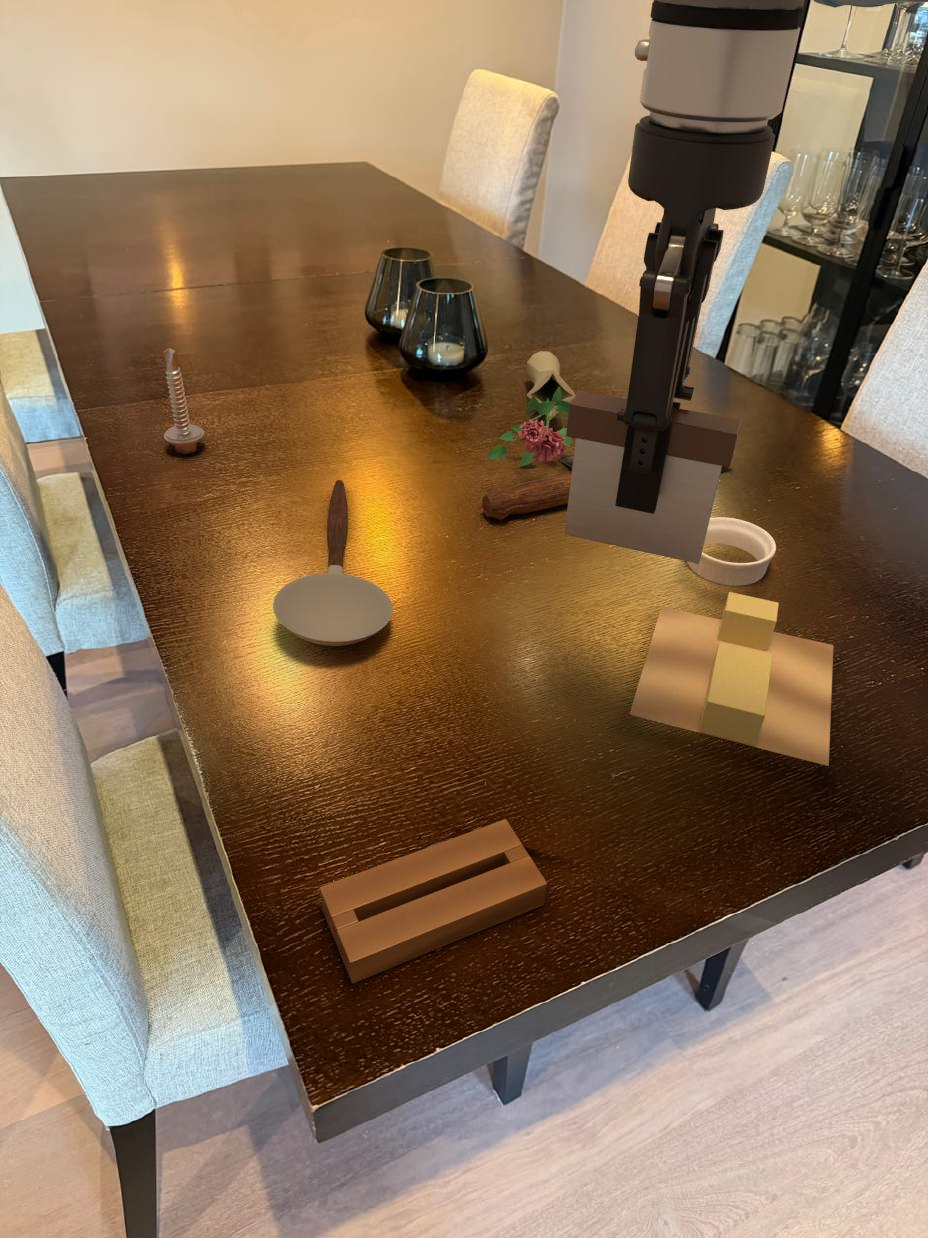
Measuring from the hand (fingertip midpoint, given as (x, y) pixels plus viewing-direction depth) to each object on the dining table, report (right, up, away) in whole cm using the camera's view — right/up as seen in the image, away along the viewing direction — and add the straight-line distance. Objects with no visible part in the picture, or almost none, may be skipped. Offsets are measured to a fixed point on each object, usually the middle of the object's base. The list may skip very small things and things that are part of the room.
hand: (640, 496), depth 63 cm
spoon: (-26, -3, +30) cm, 39 cm away
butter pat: (+14, -10, +20) cm, 27 cm away
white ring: (+15, -4, +31) cm, 34 cm away
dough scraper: (0, -3, +3) cm, 4 cm away
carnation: (-1, +27, +65) cm, 71 cm away
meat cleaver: (+4, +9, +46) cm, 47 cm away
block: (-14, -28, -2) cm, 32 cm away
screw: (-47, +12, +48) cm, 68 cm away
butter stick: (+10, -16, +13) cm, 23 cm away
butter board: (+12, -15, +17) cm, 25 cm away
